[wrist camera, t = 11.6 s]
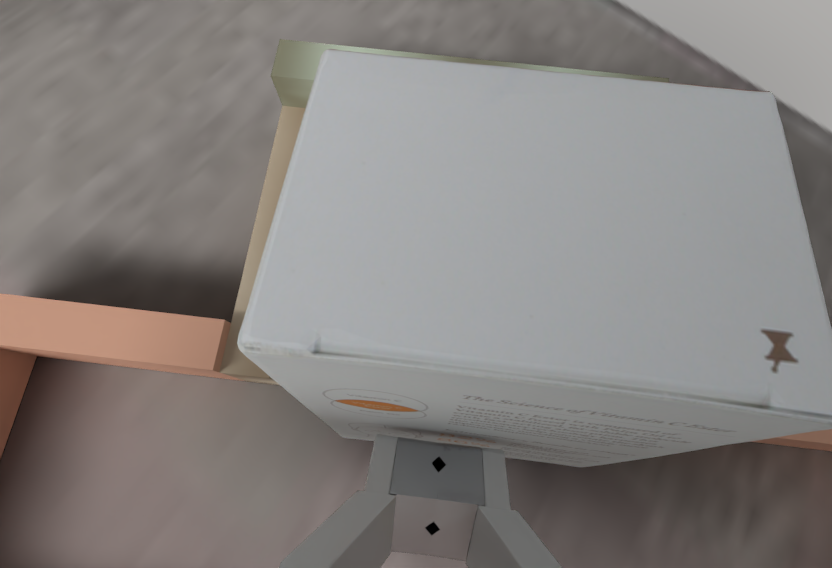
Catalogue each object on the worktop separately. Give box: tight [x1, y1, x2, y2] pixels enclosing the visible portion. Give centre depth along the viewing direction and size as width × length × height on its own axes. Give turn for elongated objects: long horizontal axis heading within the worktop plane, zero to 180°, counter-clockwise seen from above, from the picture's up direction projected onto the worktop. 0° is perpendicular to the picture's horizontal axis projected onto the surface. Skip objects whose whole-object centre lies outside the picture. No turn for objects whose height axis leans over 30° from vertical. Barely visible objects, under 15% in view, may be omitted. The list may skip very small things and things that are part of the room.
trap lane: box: [220, 39, 669, 385], centre depth 13 cm, size 13×30×4 cm, turn 173°
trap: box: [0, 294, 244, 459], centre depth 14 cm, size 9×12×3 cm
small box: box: [237, 49, 832, 467], centre depth 12 cm, size 8×6×10 cm
